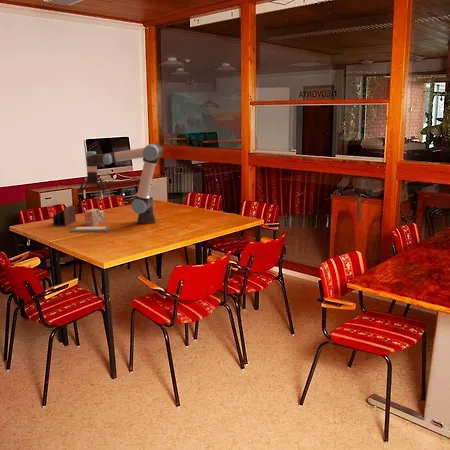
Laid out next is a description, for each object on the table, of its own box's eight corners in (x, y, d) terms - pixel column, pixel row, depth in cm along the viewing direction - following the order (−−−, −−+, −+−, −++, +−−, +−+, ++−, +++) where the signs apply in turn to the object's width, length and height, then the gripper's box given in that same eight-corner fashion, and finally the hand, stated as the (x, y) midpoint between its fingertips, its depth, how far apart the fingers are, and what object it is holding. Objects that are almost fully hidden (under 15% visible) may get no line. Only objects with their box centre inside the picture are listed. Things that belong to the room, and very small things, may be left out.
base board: (110, 228, 379) (110, 225, 378) (107, 232, 366) (107, 229, 366) (74, 228, 377) (74, 226, 377) (70, 232, 365) (70, 230, 364)
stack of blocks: (97, 221, 403) (96, 206, 401) (104, 221, 402) (104, 206, 399) (85, 227, 383) (84, 211, 380) (93, 227, 382) (92, 211, 379)
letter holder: (76, 221, 404) (74, 204, 401) (65, 226, 385) (64, 208, 381) (64, 220, 405) (63, 204, 402) (53, 226, 386) (52, 208, 383)
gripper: (109, 171, 387) (110, 197, 392) (77, 170, 386) (78, 197, 391) (107, 172, 380) (108, 199, 385) (74, 172, 379) (76, 199, 383)
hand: (93, 198), depth 388 cm, fingers open, 13 cm apart
